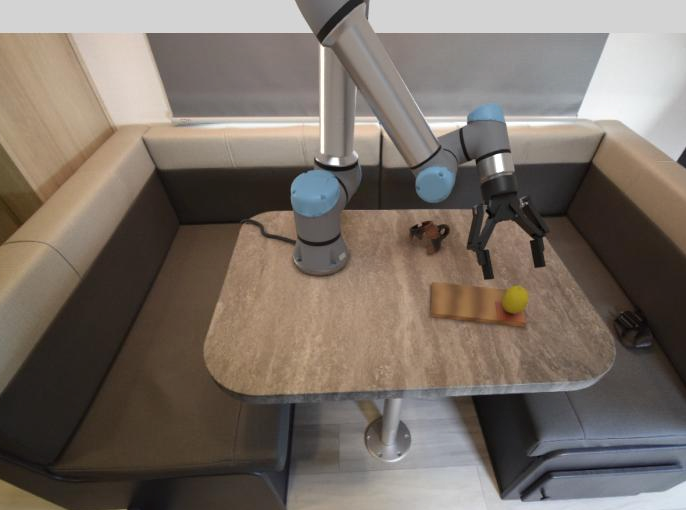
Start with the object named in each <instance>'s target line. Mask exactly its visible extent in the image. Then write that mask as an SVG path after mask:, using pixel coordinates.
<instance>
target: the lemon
mask: <svg viewBox="0 0 686 510" xmlns="http://www.w3.org/2000/svg"><path fill="white" fill-rule="evenodd" d="M506 290H507V291H506V292H505V294H504V295H503V298H502V306H503V308H504V309H505V310H506V311H507V312H509V313H513V314H516V313H520V312H521V311H524V310H525V309H526V308H527V306H528V304H529V301H530V294H529V292H528V290H527V289H525V287H523V286H521V285H513V286H510V287H509V288H508V289H506Z"/></svg>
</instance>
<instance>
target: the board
mask: <svg viewBox="0 0 686 510" xmlns="http://www.w3.org/2000/svg"><path fill="white" fill-rule="evenodd" d="M430 288H431V291H430V292H431V296H430V297H431V298H430V299H431V300H430V302H431V304H430V306H431V307H430V312H431V313H430V317H431V318H438V319H446V320H447V319H448V320H457V321H463V322H474V323H483V324H491V325H501V326H511V327H517V328H525V327H526V325H527V319H526V315H525V312H524V310H523V311H521V312H520V313H516V314H513V313H509V312H507V311H506V310H505V309H504V308H503V306H502V298H503V295H504V294H505V292H506V291H507V290H508V289H505V288H495V287H485V286H476V285H468V284H467V285H466V284H457V283H448V282H438V281H437V282H436V281H432V282H431V287H430Z"/></svg>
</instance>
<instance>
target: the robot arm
mask: <svg viewBox="0 0 686 510" xmlns="http://www.w3.org/2000/svg"><path fill="white" fill-rule="evenodd" d="M294 2H295V4H296V6H297V8H298V10H299V11H300V13H301V15H302V17H303V19H304V20H305V22H306V23H307V25H308V26H309V29H310V30H311V32H312V33H313V35H314V37H315V38H316V39H317V44H318V45H317V49H318V53H317V54H318V55H317V56H318V111H319V112H318V118H319V120H318V122H319V123H318V124H319V125H318V126H319V146H318V147H317V148H316V149H315V150H314V152H313V170H312V169H311V170H308V171H307V172H302V173H301V174H299V175H298V176H296V177H295V178H294V179H293V181H292V183H291V185H290V202H291V203H290V204H291V206H292V213H293V219H294V226H295V232H296V240H295V239H292V238H289V237H287V236H286V237H285V236H282V235H278V234H272V233H267V232H265V229H264V225H263V224H262V223H260V222H259V221H257V220H254V219H252V218H243V219H242V220H241V221H240V222H239V223H240V224H242V225H243V224H245V223H251V224H254V225H256V226H258V227H259V229H260V230H259V231H260V233H261V234H262V236H264V237H267V238H272V239H276V240H277V239H278V240H281V241H284V242H287V243H291V244H294V250H293V253H292V256H293V263H294V265H295V268H297V269H298V270H299V271H300V272H302V273H304V274H305V275H308V276H314V277H325V276H330V275H331V276H332V275H334V274H336V273H338V272H341V271H342V270H343V269H344V268H345V267H346V265H347V264H348V262H349V249H348V247H347V245H346V242H345V240H344V238H343V235H342V222H341V216H342V213H343V211H344V210H345V208H346V206H347V205H348V203H349V202H350V201H351V198H352V197H353V195H355V193H357V191H358V190H359V187H360V185H361V181H362V177H363V176H362V175H363V173H362V168H361V164H360V162H359V153H358V152H357V151H356V150H355V148H354V142H355V126H356V125H355V124H356V108H357V90H358V92H359V93H360V95H361V96H362V98H363V99H364V101H365V103H366V104H367V105H368V107H369V109H370V110H371V112H372V113H373V115H374V117H376V119H377V121H378V122H379V124H380V125H381V127H382V128H383V130H384V131H385V133H386V134H387V136H388V137H389V139H390V141H391V142H392V143H393V145H394V146H395V148H396V149H397V152H398V153H399V154H400V156H401V157H402V159H403V160H404V162H405V163H406V165H407V166H408V168H409V169H410V171H411V173H412V174H413V176H414V178H415V192H416V194H417V195H418V197H419V198H420V199H421V200H422V201H424V202H426V203H430V204H437V203H441V202H443V201H445V200H446V199H447V198H448V197H449V196H450V194H451V193H452V191H453V188H454V187H455V185H456V184H455V183H456V178H457V174H458V170H459V166H461V165H463V164H466V163H469V162H471V161H473V160H474V161H475V167H476V172H477V177H478V181H479V183H481V184H480V186H479V188H480V193H481V198H482V200H483V202H484V204H483V203H478V204H476V205H473V207H471V208H472V209H471V210H472V219H471V224H470V229H469V232H468V237H467V242H466V246H465V248H466V250H468V251H472V252H474V253H475V256H476V259H477V260H476V261H477V264H478V266H479V267H480V266H481V270H482V275H483V280H484V281H487V280H494V279H495V275H494V269H493V264H492V259H491V254H490V249H489V248H486V246H487V245H488V242H489V240H490V238H491V236H492V234H493V232H494V230H495V227H496V226H497V224H498V223H501V222H508V221H511V222H514V223H515V224H517V226H518V227H519V228H521V229H522V230H523V232H524V233H526V234H527V235H528V236H529V237H530V238H531V239H530V240H529V245H530V246H529V247H530V252H531V257H532V262H533V267H534V269H540V268H545V267H547V264H546V260H545V254H544V252H545V249H546V247H545V243H544V238H545V237H547V234H549V233H550V228H549V226H548V225H547V224H546V222H545V220H544V219H543V217H542V216H541V215H540V213H539V211H538V209H537V208H536V206H535V205H534V203H533V199H532V197H531V195H529V194H528V195H526V196H523V197H520V198H519V197H518V191H519V187H518V180H517V176H516V175H515V172H516V169H515V164H514V160H513V153H512V149H511V145H510V139H509V133H508V127H507V122H506V119H505V115H504V111H503V110H504V109H503V107H502V106H501V105H500V104H499V103H496V102H489V103H485V104H482V105H479V106H477V107H476V108H474V109H473V110H471V111H469V112H468V114H467V117H466V125H463V126H462V127H460V128H457V129H454V130H451V131H449V132H447V133H445V134H442V135H439V136H436V134H435V132H434V131H433V129H432V127H431V125H430V124H429V122H428V120H427V119H426V117H425V115H424V114H423V112H422V110H421V108H420V107H419V105H418V103H417V102H416V100H415V99H414V97H413V95H412V93H411V91H410V89H409V88H408V87H407V84H406V83H405V81H404V80H403V78H402V76H401V74H400V72H399V71H398V70H397V68H396V66H395V64H394V62H393V61H392V59H391V57H390V56H389V54H388V53H387V51H386V49H385V47H384V45H383V44H382V42H381V40H380V39H379V37H378V35H377V34H376V32H375V30H374V28H373V26H372V25H371V23H370V22H369V14H370V13H369V11H370V2H371V0H294ZM485 213H486V214H487V217H486V219H485V221H484V217H485ZM483 222H484V226H483ZM482 226H483V228H482Z"/></svg>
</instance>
